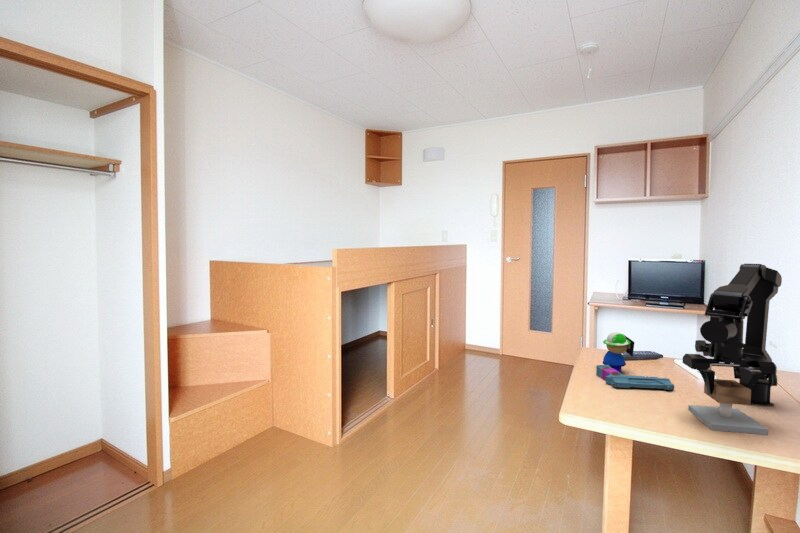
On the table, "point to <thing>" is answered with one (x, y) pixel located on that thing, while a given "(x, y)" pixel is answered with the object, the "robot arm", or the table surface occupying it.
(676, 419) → the table surface
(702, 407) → the peg base
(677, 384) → the table surface
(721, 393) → the collar
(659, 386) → the toy gun
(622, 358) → the toy
